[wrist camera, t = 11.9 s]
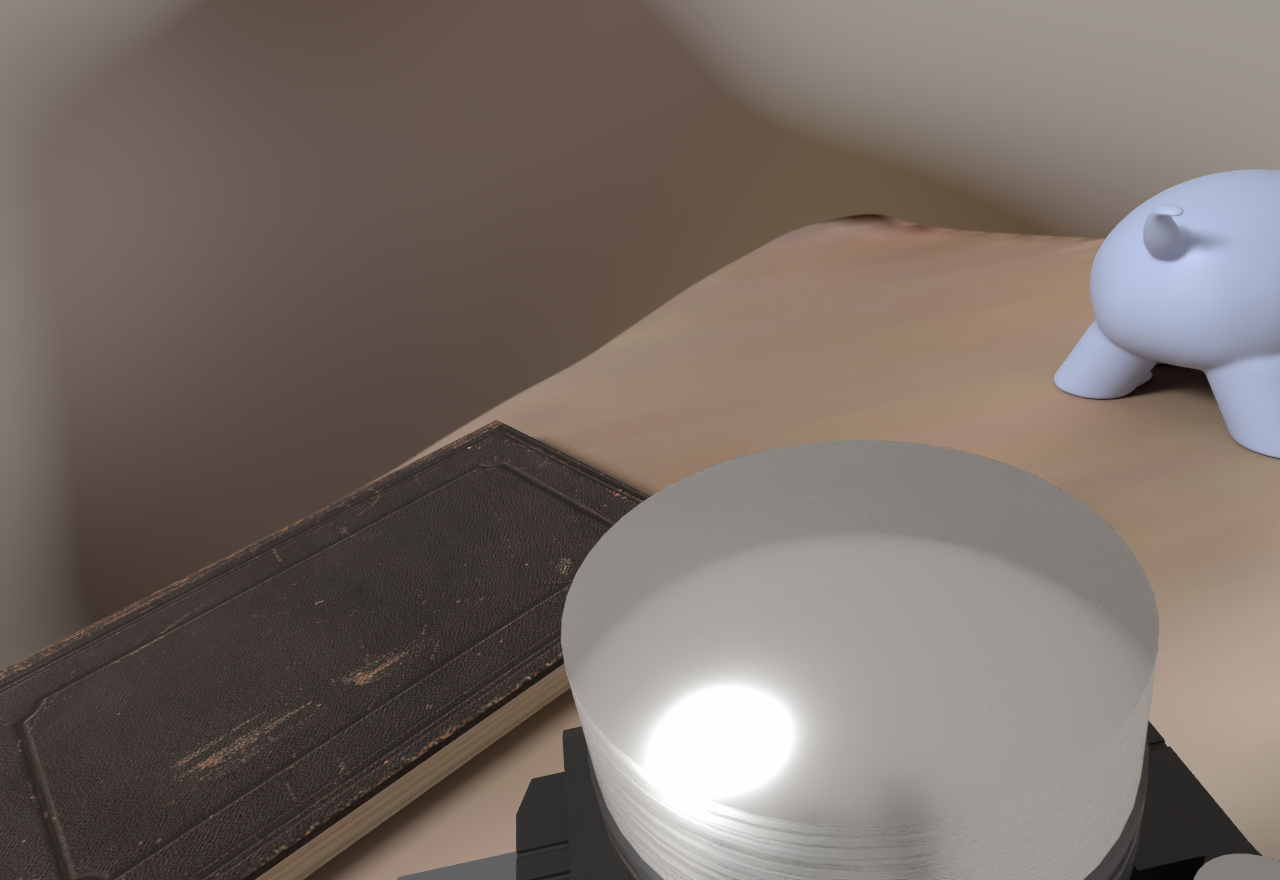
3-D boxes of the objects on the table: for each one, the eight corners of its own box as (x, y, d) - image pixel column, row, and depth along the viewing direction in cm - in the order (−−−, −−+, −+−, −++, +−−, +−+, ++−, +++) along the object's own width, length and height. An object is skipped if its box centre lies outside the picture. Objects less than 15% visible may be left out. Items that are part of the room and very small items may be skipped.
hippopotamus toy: (1468, 346, 37) (1541, 106, 33) (1277, 500, 31) (1333, 229, 27) (1200, 293, 46) (1228, 95, 41) (1006, 406, 39) (1013, 187, 35)
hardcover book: (740, 588, 33) (733, 536, 31) (49, 1099, 21) (-2, 1045, 20) (502, 457, 44) (490, 415, 43) (-30, 740, 32) (-66, 694, 31)
